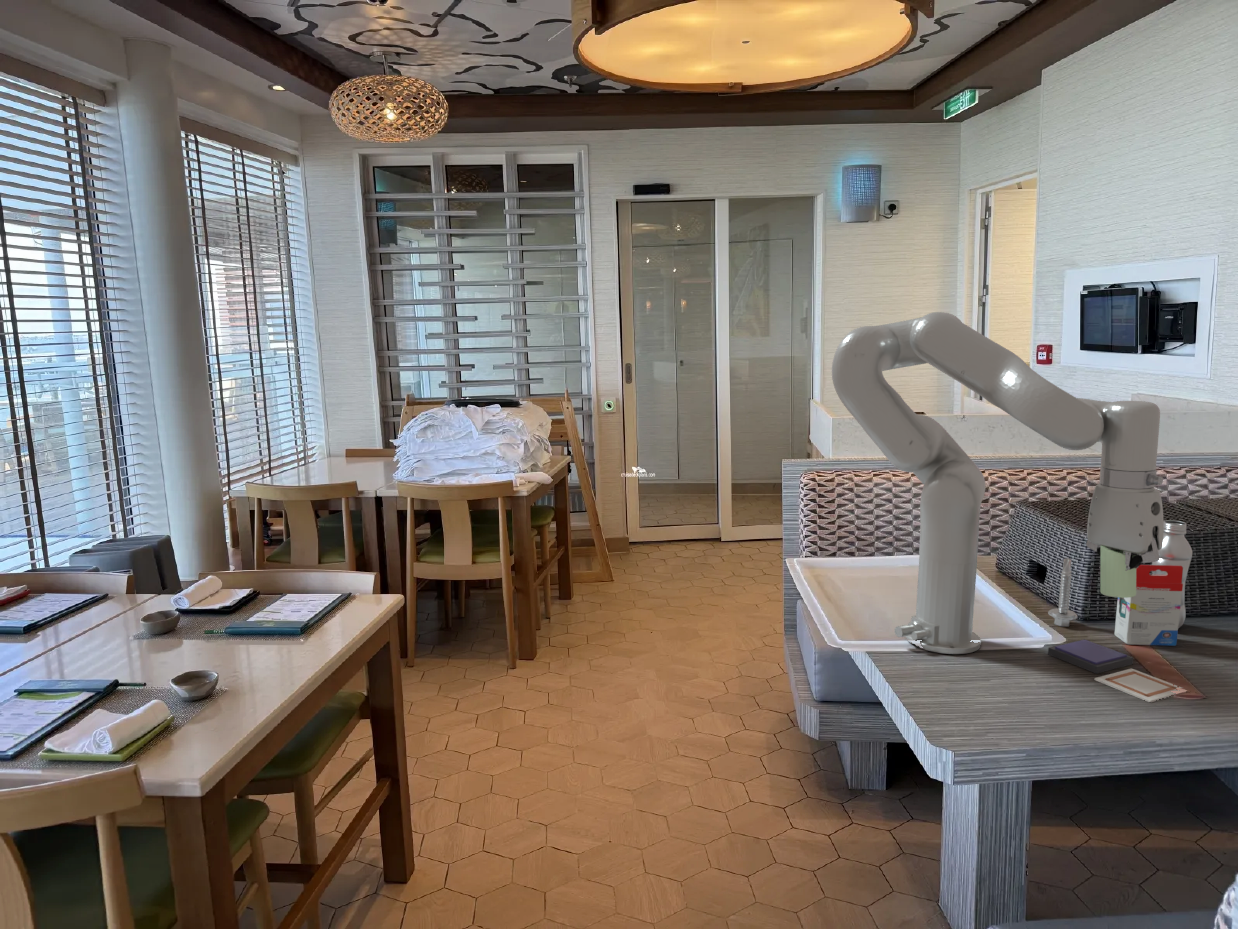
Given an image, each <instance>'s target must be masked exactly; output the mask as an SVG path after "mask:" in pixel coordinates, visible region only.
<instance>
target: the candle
mask: <svg viewBox="0 0 1238 929" xmlns="http://www.w3.org/2000/svg"><path fill="white" fill-rule="evenodd" d="M1123 552H1124V551H1121V550H1118V551H1117V550H1110V549H1108V548H1106V547H1105V546H1102V545H1101V546H1100V555H1099V557H1100V560H1099V562H1100V564H1099V566H1100V570H1099V571H1100V575H1099V576H1100V579H1099V581H1100V584H1099V586H1100V587H1099V588H1100V593H1101V595H1104V596H1106V597H1112V598H1118V597H1119V598H1128V597H1134V596H1135V595H1136V568H1133V569H1130V570H1127V568H1126V566H1127V565H1126V564H1125V555H1124V554H1123ZM1134 556H1136V555H1133V556H1132V558H1133V557H1134ZM1125 570H1127V571H1125Z"/></svg>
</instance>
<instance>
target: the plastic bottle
mask: <svg viewBox="0 0 1238 929" xmlns="http://www.w3.org/2000/svg"><path fill="white" fill-rule="evenodd" d="M1163 523H1164V531H1163V546H1162V548H1161V549H1160V550H1158V553H1159V557H1160V559H1159V561H1155V562H1151V565H1172V566H1182V567H1183V574H1182V583H1183V589H1182V598H1181V606H1180V616H1179V625H1178V629H1179V628H1181V627H1182V626H1183V625H1184V623H1185V620H1186V618H1187V616H1186V614H1187V613H1186V604H1185V596H1186V595H1185V592H1186V591H1185V590H1186V581H1187V577H1188V571H1189V569H1190V565H1191V561H1192V558H1193V549H1192V547H1191V545H1190V543H1189V541H1188V540H1187V538H1186V537H1185V535H1186V534H1187V522H1183V521H1179V520H1172V519H1171V520H1167V519H1166V520H1163ZM1166 574H1167V572H1165V571H1160V570H1156V571H1151V575H1166Z"/></svg>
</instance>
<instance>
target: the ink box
mask: <svg viewBox="0 0 1238 929" xmlns="http://www.w3.org/2000/svg"><path fill="white" fill-rule="evenodd" d="M1156 570H1160V571H1165V572H1167V574H1166V575H1152V574H1151V572H1152V571H1156ZM1182 574H1183V567H1182V566H1172V565H1152V564H1141V565H1140V566H1139V567H1138V568H1136V595H1135V596H1134V597H1128V598H1119V597H1117V600H1116V601H1117V603H1116V613H1115V623H1114V636H1116V638H1118V639H1119V640H1121V641H1122V642H1124V644H1126V645H1133V646H1135V645H1138V646H1164V647H1165V646H1168V647H1169V646H1170V647H1175V646H1177V643H1178V634H1179V631H1178V630H1179V628H1178V625H1179V616H1180V606H1181V598H1182V589H1183V583H1182Z"/></svg>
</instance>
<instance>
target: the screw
mask: <svg viewBox="0 0 1238 929" xmlns="http://www.w3.org/2000/svg"><path fill="white" fill-rule="evenodd" d="M1071 569H1072V559H1070V558H1069V557H1067V558H1064V559H1063V563H1062V571H1061V572H1060V576H1061V577H1060V578H1059V579H1060V581H1059V582H1060V583H1059V585H1060V586H1059V588H1060V589H1059V590H1058V591H1059V593H1058V594H1059V596H1058V602H1057V603H1058V605H1057V606H1058V608H1057V607H1056V608H1051V609H1050V610H1048V611H1047V613H1048V615H1049V616H1051V617H1052V618H1053V619H1054V622H1053V624H1054V625H1056V626H1059V627H1069V626H1070V622H1071V621H1072V620H1076V619H1077V618H1078V614H1077V613H1076V612H1075V611H1072V610H1070V608H1069V607H1070V600H1071V599H1070V597H1071V596H1070V594H1071V588H1072V587H1071V585H1072V583H1071V582H1072V580H1071V579H1072V578H1073V577H1072V575H1073V574H1072V572H1073V571H1072V570H1071Z"/></svg>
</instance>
